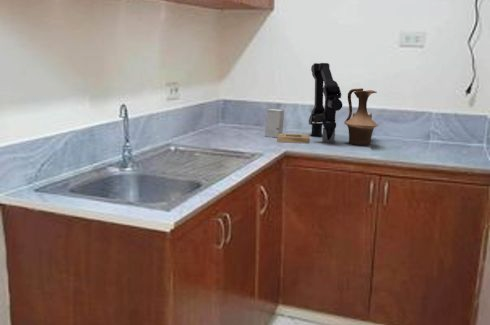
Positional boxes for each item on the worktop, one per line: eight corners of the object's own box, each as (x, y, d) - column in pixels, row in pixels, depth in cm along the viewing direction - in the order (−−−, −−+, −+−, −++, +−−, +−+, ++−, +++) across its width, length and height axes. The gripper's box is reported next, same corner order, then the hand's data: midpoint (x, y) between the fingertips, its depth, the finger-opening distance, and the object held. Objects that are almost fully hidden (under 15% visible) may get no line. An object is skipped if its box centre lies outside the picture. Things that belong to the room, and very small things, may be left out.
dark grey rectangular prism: (322, 141, 261) (323, 128, 260) (334, 141, 261) (334, 128, 259) (322, 142, 257) (323, 129, 256) (334, 143, 257) (335, 129, 255)
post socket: (278, 138, 269) (279, 133, 269) (308, 139, 267) (309, 134, 267) (277, 141, 255) (277, 137, 255) (308, 143, 253) (308, 138, 253)
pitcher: (336, 143, 253) (339, 87, 248) (349, 140, 267) (353, 87, 262) (369, 147, 244) (374, 89, 239) (381, 144, 257) (386, 89, 253)
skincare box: (264, 136, 274) (265, 109, 271) (269, 135, 279) (270, 108, 276) (278, 137, 270) (280, 110, 267) (283, 136, 275) (284, 109, 272)
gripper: (314, 106, 266) (312, 136, 269) (314, 110, 248) (312, 141, 251) (335, 107, 264) (333, 137, 267) (337, 110, 246) (335, 142, 249)
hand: (328, 139), depth 259 cm, fingers closed on dark grey rectangular prism, 4 cm apart
